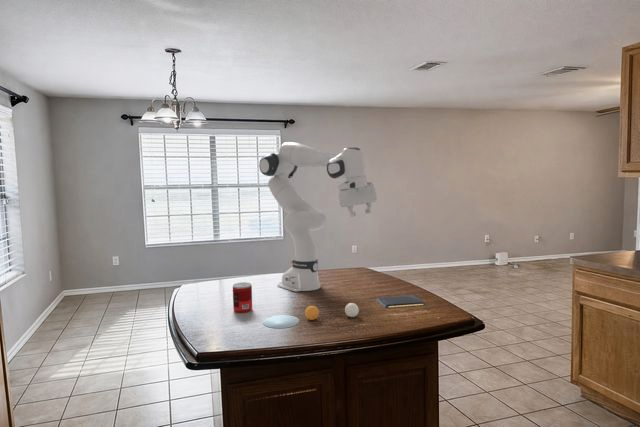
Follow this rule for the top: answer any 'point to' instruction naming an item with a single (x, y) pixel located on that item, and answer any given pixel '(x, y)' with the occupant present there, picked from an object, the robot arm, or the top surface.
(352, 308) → the white ping pong ball
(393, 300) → the wallet
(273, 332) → the top surface
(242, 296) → the canned food
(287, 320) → the light blue disc
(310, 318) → the orange ball
